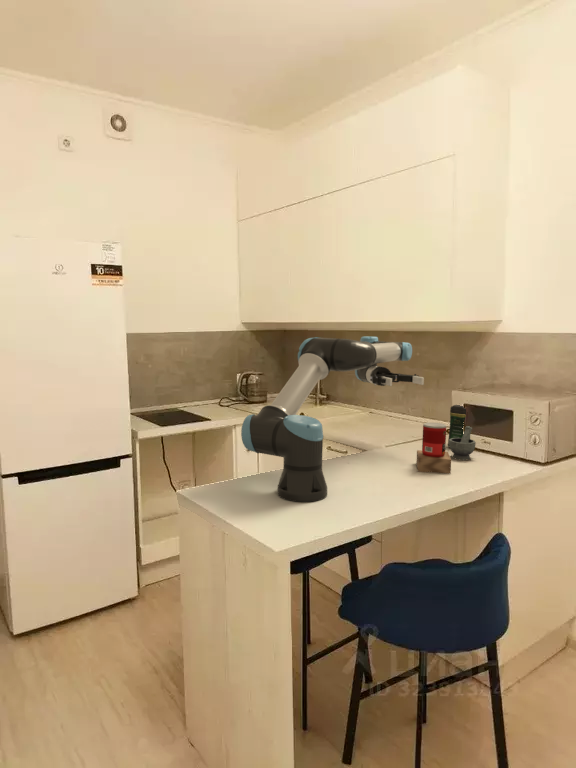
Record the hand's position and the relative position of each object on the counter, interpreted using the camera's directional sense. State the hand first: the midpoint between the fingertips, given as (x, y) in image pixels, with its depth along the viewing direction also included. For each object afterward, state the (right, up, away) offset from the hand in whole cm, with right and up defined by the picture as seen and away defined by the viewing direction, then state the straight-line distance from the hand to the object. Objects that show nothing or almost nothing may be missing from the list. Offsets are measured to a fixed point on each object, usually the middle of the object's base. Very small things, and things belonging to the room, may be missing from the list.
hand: (407, 381), depth 201 cm
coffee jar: (+27, -28, +26) cm, 47 cm away
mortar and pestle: (+23, -30, +9) cm, 39 cm away
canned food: (+8, -26, -7) cm, 28 cm away
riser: (+8, -31, -7) cm, 33 cm away
